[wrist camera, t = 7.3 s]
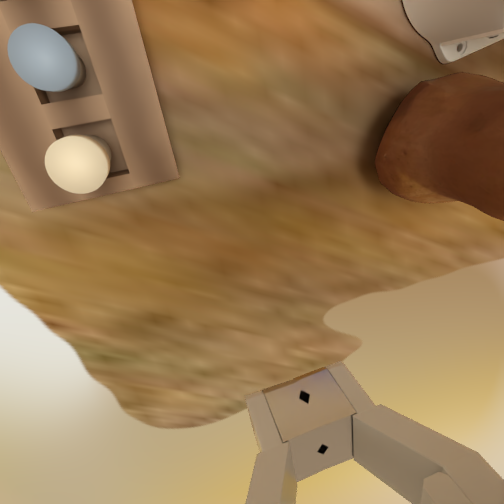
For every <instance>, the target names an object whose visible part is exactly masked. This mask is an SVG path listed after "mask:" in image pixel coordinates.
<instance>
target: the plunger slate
mask: <svg viewBox="0 0 504 504" xmlns="http://www.w3.org/2000/svg"><path fill="white" fill-rule="evenodd" d="M8 56H9V60H10V62H11V64H12V66H13V68H14V70H15V71H16V73H17V74H18V75H19V76H20V77H21V78H22V79H23V80H24V81H25V82H27V83H28V84H29V85H31V86H33V87H35V88H37V89H40V90H45V91H52V92H62V91H66V90H68V89H74V88H77V87H79V86H80V85H82V84H83V82H84V81H85V78H86V67H85V64H84V62H83V60H82V59H81V57H80V56H79V55H78V54H77V53H76V51H75V49H74V48H73V47H72V45H71V44H70V43H69V42H68V41H67V40H66V39H65V38H63V37H62V36H61V35H60V34H58V33H57V32H56V31H54V30H53V29H51V28H49V27H47V26H44V25H41V24H36V23H28V24H24V25H21V26H19V27H18V28H16V29H15V30H14V31H13V32H12V34H11V35H10V37H9V40H8Z"/></svg>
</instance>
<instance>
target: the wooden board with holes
mask: <svg viewBox="0 0 504 504" xmlns="http://www.w3.org/2000/svg"><path fill="white" fill-rule="evenodd" d="M28 23H36V24H41V25H44V26H47V27H49V28H51V29H53V30H54V31H56V32H57V33H58V34H60V35H61V36H62V37H63V38H65V39H66V40H67V41H68V42H69V43H70V44H71V45H72V47H73V48H74V49H75V51H76V53H77V54H78V55H79V56H80V57H81V59H82V60H83V62H84V64H85V67H86V78H85V81H84V82H83V84H82V85H80V86H79V87H77V88H74V89H68V90H66V91H62V92H52V91H45V90H40V89H37V88H35V87H33V86H31V85H29V84H28V83H27V82H25V81H24V80H23V79H22V78H21V77H20V76H19V75H18V74H17V73H16V71H15V70H14V68H13V66H12V64H11V62H10V60H9V56H8V40H9V37H10V35H11V34H12V32H13V31H14V30H15V29H16V28H18V27H19V26H21V25H24V24H28ZM69 135H95V136H98V137H100V138H102V139H103V140H104V141H105V142H106V143H107V144H108V146H109V147H110V150H111V155H112V157H111V161H110V171H109V174H108V176H107V178H106V179H105V181H104V183H103V184H102V185H101V186H100V187H99V188H98V189H96V190H95V191H93V192H90V193H85V194H76V193H72V192H68V191H66V190H64V189H62V188H60V187H59V186H58V185H57V184H55V183H54V182H53V180H52V179H51V178H50V177H49V175H48V173H47V170H46V167H45V155H46V152H47V150H48V148H49V147H50V145H51V144H52V143H54V142H55V141H57V140H59V139H61V138H64V137H66V136H69ZM0 150H1V152H2V154H3V156H4V158H5V160H6V162H7V164H8V166H9V168H10V170H11V172H12V174H13V175H14V177H15V179H16V181H17V183H18V185H19V187H20V189H21V191H22V193H23V195H24V197H25V199H26V201H27V203H28V205H29V207H30V209H31V211H32V212H34V211H39V210H43V209H48V208H52V207H56V206H61V205H65V204H69V203H74V202H78V201H82V200H87V199H91V198H96V197H100V196H104V195H109V194H113V193H117V192H122V191H126V190H130V189H135V188H139V187H144V186H148V185H152V184H157V183H161V182H165V181H170V180H174V179H179V178H180V177H179V174H178V170H177V166H176V162H175V159H174V155H173V151H172V148H171V144H170V140H169V137H168V133H167V129H166V125H165V122H164V118H163V114H162V111H161V107H160V103H159V100H158V96H157V92H156V88H155V85H154V81H153V77H152V74H151V70H150V66H149V63H148V59H147V55H146V51H145V48H144V44H143V40H142V37H141V33H140V29H139V26H138V22H137V18H136V14H135V11H134V7H133V3H132V0H0Z"/></svg>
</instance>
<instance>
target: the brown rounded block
mask: <svg viewBox="0 0 504 504" xmlns="http://www.w3.org/2000/svg"><path fill="white" fill-rule="evenodd" d="M375 167H376V170H377V174H378V177H379V180H380V183H381V184H382V185H384V186H385V187H386V188H387V189H388V190H389V191H390V192H391V193H393V194H395V195H397V196H399V197H402V198H404V199H407V200H410V201H414V202H421V203H442V202H451V201H461V202H464V203H466V204H469V205H471V206H474V207H475V208H477V209H479V210H480V211H482V212H484V213H486V214H487V215H490V216H492V217H494V218H497V219H500V220H503V221H504V83H502V82H499V81H497V80H495V79H492V78H489V77H486V76H482V75H476V74H470V73H464V72H462V73H454V74H450V75H447V76H444V77H440V78H437V79H434V80H428V81H422V82H420V83H419V84H418V85H417V86H415V87H414V88H413V89H412V90H411V91H410V92H409V94H408V95H407V96H406V97H405V98H404V99H403V101H402V102H401V103H400V105H399V107H398V108H397V110H396V112H395V114H394V115H393V117H392V119H391V121H390V122H389V124H388V126H387V128H386V130H385V132H384V135H383V138H382V140H381V143H380V145H379V148H378V151H377V154H376V158H375Z"/></svg>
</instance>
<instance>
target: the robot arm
mask: <svg viewBox="0 0 504 504" xmlns="http://www.w3.org/2000/svg"><path fill="white" fill-rule="evenodd" d="M402 1H403V5H404V8H405V11H406V14H407V16H408V18H409V20H410V22H411V24H412V25H413V27H414V28H415V29H416V30H417V32H418V33H419V34H420V35H422V36H423V37H424V38H425V39H427V40H428V41H429V42H430V43H431V45H432V47H433V49H434V52H435V54H436V56H437V58H438V60H439V61H440V62H441V63H443V64H446V63H450V62H453V61H456V60H458V59H460V58H462V57H464V56H467V55H469V54H471V53H473V52H476V51H478V50H480V49H482V48H484V47H487V46H489V45H491V44H493V43H495V42H498V41H500V40H502V39H504V0H402ZM457 46H458V49H457ZM245 400H246V404H247V408H248V412H249V416H250V420H251V423H252V427H253V431H254V434H255V438H256V441H257V445H258V447H259V451H260V453H258V454H257V457H256V461H255V466H254V469H253V474H252V478H251V482H250V486H249V491H248V495H247V499H246V504H295V503H296V492H297V491H296V490H297V482H298V481H301V480H303V479H305V478H307V477H309V476H312V475H314V474H316V473H318V472H320V471H322V470H324V469H327V468H329V467H332V466H335V465H337V464H340V463H342V462H344V461H347V460H350V459H352V458H354V460H355V461H356V462H357V463H359V464H360V465H361V466H363V467H364V468H365V469H367V470H368V471H369V472H371V473H372V474H373V475H375V476H376V477H377V478H379V479H380V480H381V481H383V482H384V483H385V484H387V485H388V486H389V487H391V488H392V489H393V490H395V491H396V492H397V493H399V494H400V495H401V496H403V497H404V498H405V499H407V500H408V501H410V502H411V503H412V504H504V480H503V479H502V478H501V477H500V476H499V474H497V472H496V471H495V470H494V469H493V468H492V467H491V466H490V465H489V464H488V463H487V462H486V461H485V460H484V459H483V457H482V456H481V455H480V454H479V453H478V452H476V451H474V450H472V449H470V448H468V447H466V446H464V445H462V444H460V443H458V442H456V441H454V440H452V439H450V438H448V437H446V436H444V435H442V434H440V433H438V432H436V431H434V430H432V429H430V428H428V427H425V426H423V425H421V424H419V423H418V422H415V421H413V420H411V419H409V418H407V417H405V416H403V415H401V414H399V413H397V412H395V411H393V410H391V409H389V408H387V407H385V406H383V405H381V404H380V405H377V406H375V405H374V403H373V402H372V400H371V399H370V398H369V396H368V395H367V394H366V392H365V391H364V390H363V388H362V387H361V386H360V384H359V383H358V382H357V380H356V379H355V378H354V376H353V375H352V374H351V372H350V371H349V370H348V368H347V367H346V366H345V364H344V363H342V362H341V361H339V362H336V363H334V364H331V365H328V366H326V367H322V368H319V369H317V370H314V371H311V372H309V373H306V374H304V375H301V376H298V377H296V378H293V380H290V381H287V382H284V383H281V384H278V385H275V386H272V387H269V388H266V389H263V390H260V391H257V392H254V393H252V394H249V395H246V396H245Z"/></svg>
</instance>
